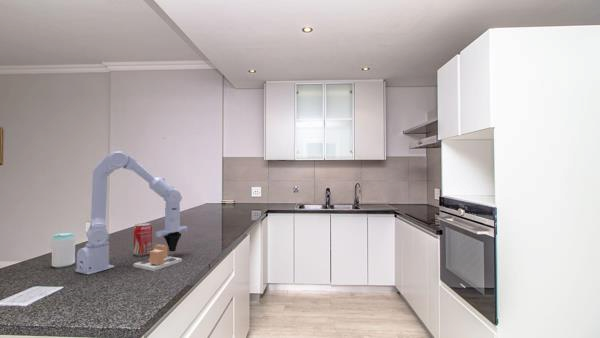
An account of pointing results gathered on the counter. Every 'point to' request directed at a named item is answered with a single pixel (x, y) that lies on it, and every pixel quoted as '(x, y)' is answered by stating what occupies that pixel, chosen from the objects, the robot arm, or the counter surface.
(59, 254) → the white lidded container
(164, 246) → the tab far
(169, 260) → the switch bank
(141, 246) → the soda can
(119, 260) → the counter surface
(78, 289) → the counter surface
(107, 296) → the counter surface
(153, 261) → the tab near
